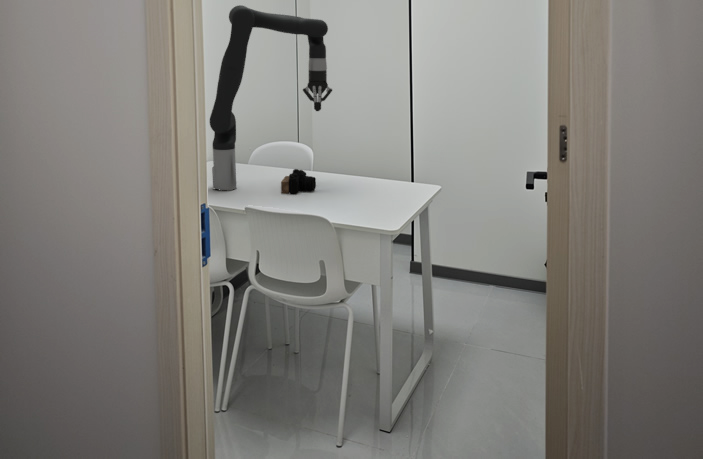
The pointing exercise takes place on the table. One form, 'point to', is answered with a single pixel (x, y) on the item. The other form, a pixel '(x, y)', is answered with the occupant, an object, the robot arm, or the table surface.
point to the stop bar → (285, 185)
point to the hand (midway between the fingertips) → (317, 110)
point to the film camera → (301, 182)
